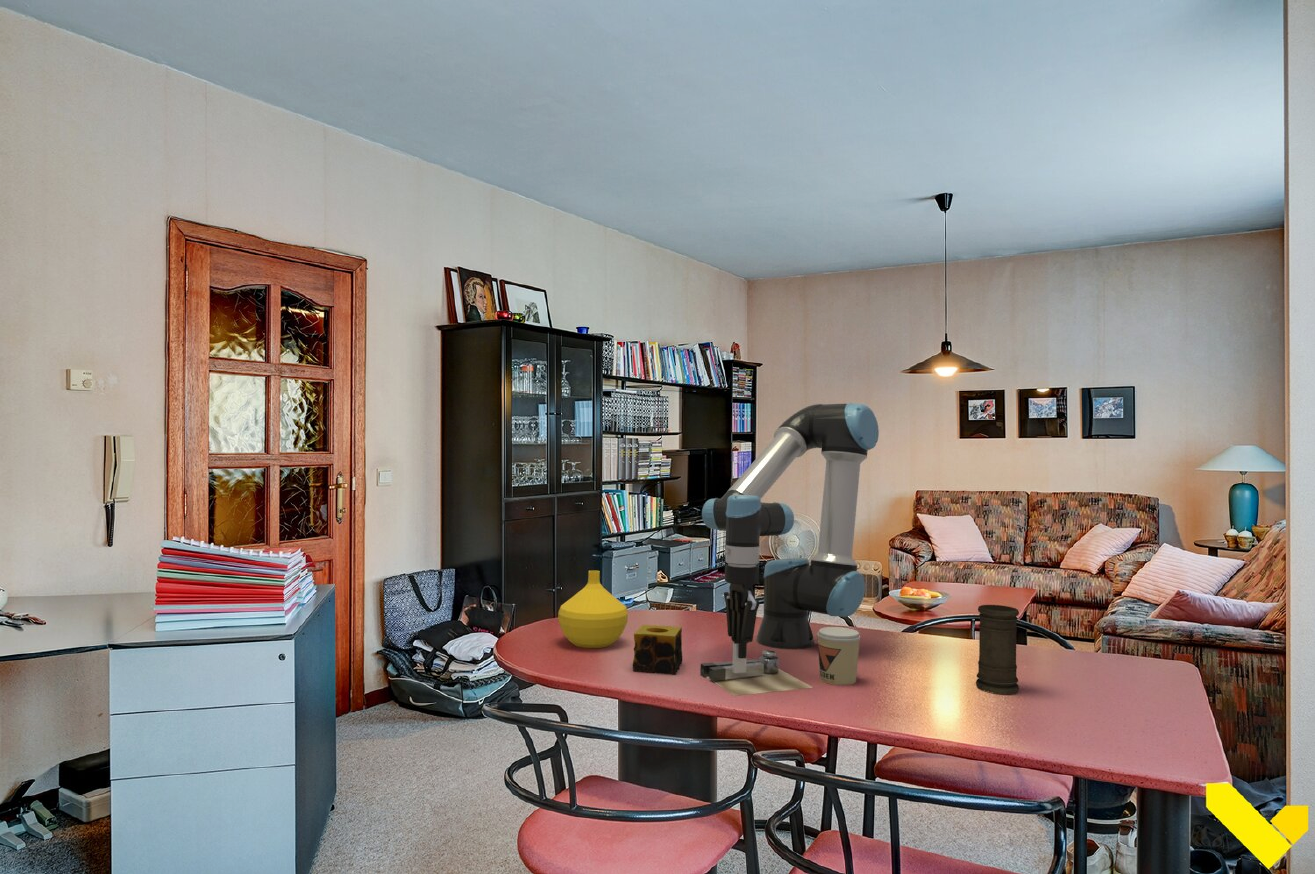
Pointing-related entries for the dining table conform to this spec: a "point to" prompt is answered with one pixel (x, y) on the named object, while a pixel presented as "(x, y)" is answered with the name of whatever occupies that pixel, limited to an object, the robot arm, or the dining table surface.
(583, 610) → the vase
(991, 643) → the container
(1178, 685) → the dining table surface
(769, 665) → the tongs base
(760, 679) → the board
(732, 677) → the bar
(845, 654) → the coffee cup
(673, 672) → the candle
